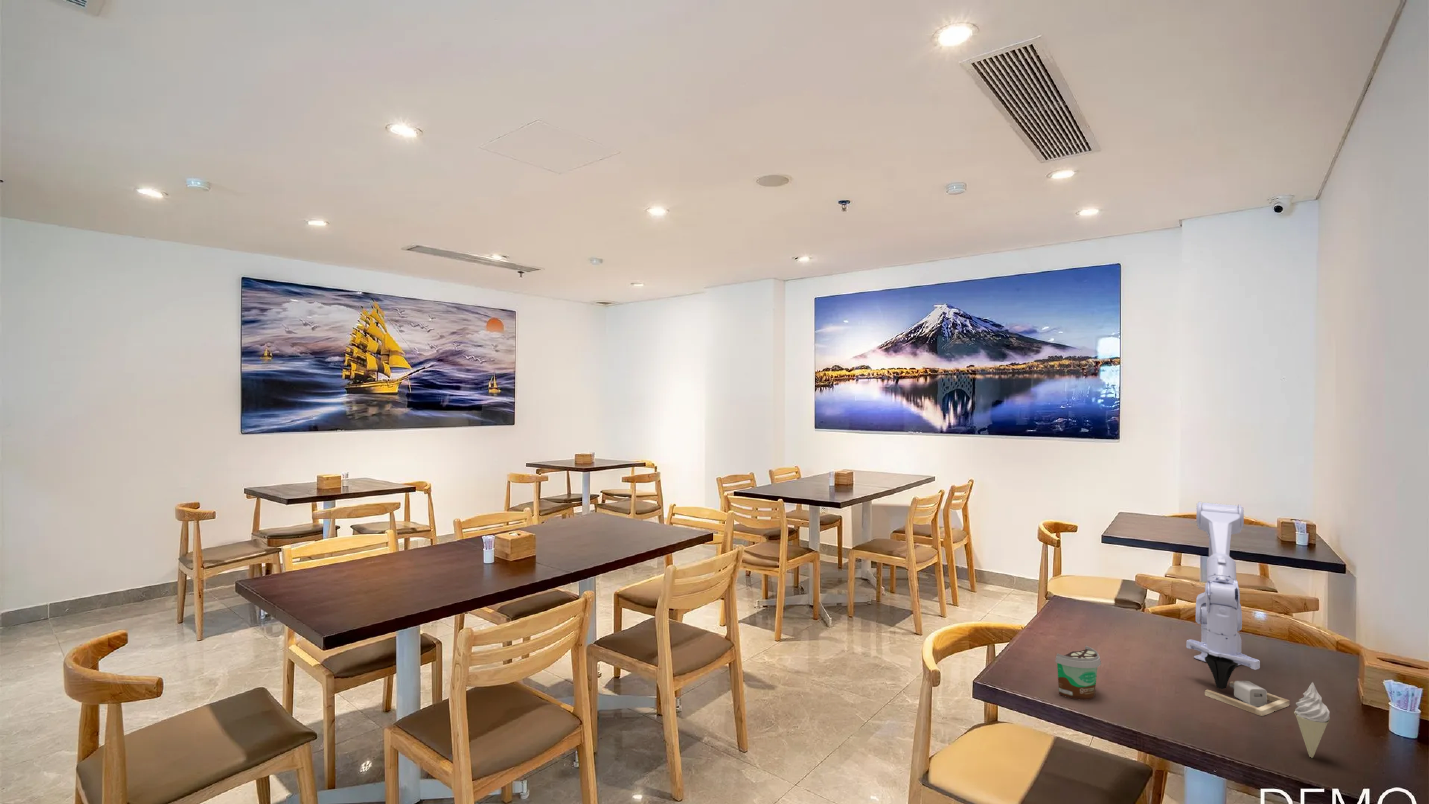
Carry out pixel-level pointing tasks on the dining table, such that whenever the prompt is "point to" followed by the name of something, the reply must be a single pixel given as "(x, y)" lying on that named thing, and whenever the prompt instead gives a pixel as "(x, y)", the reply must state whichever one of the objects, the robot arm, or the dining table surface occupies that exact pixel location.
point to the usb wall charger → (1250, 693)
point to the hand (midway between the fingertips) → (1221, 687)
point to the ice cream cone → (1312, 718)
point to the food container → (1078, 673)
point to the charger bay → (1261, 711)
